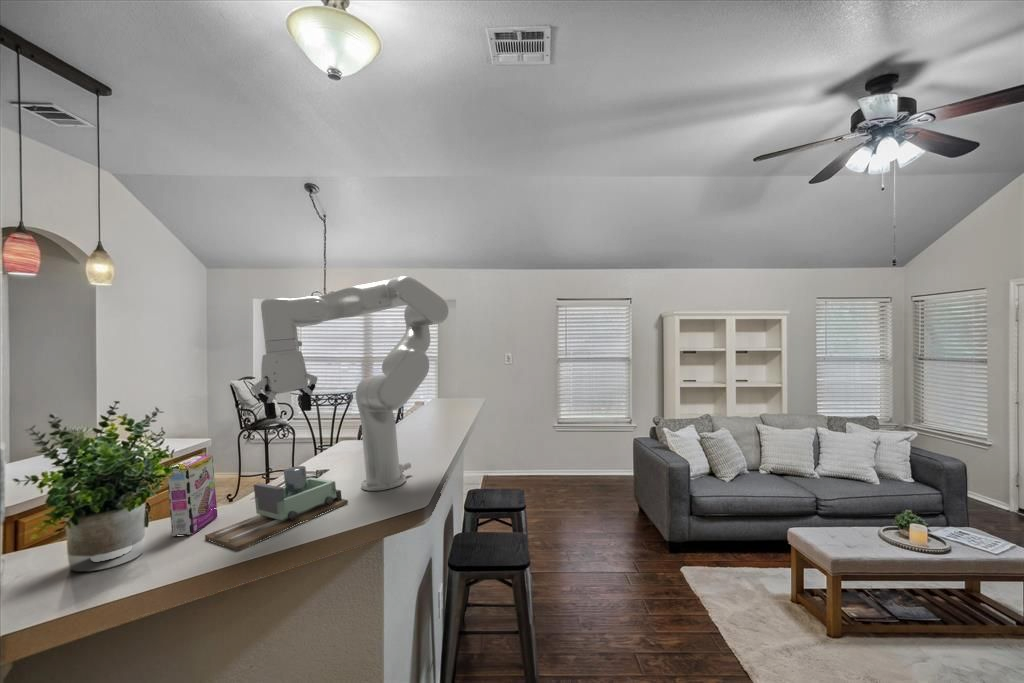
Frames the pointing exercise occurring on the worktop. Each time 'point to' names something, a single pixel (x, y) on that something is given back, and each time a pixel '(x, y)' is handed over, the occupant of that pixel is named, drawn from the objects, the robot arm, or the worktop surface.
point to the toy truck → (292, 498)
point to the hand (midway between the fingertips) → (289, 414)
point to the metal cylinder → (295, 480)
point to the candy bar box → (192, 495)
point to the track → (266, 526)
